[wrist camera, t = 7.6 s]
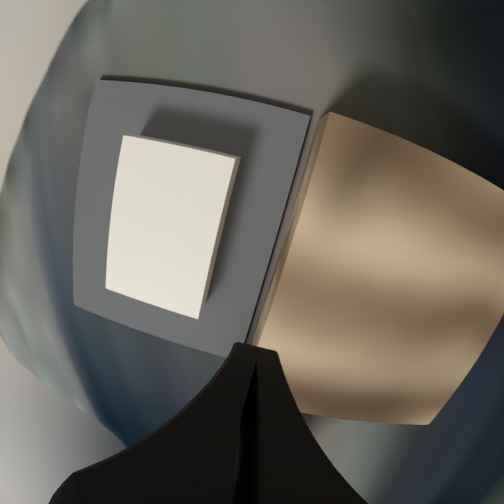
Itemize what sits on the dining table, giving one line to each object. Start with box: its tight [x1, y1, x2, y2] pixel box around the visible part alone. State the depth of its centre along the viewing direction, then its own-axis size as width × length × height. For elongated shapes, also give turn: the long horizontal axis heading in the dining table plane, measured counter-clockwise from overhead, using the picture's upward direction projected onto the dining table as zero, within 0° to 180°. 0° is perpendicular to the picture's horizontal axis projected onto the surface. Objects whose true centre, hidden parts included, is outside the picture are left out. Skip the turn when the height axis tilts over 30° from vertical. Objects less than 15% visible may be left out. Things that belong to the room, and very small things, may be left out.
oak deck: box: [251, 112, 504, 425], centre depth 16 cm, size 16×14×4 cm
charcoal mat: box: [73, 80, 310, 358], centre depth 18 cm, size 16×13×1 cm
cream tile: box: [106, 135, 241, 319], centre depth 16 cm, size 9×6×2 cm, turn 165°
